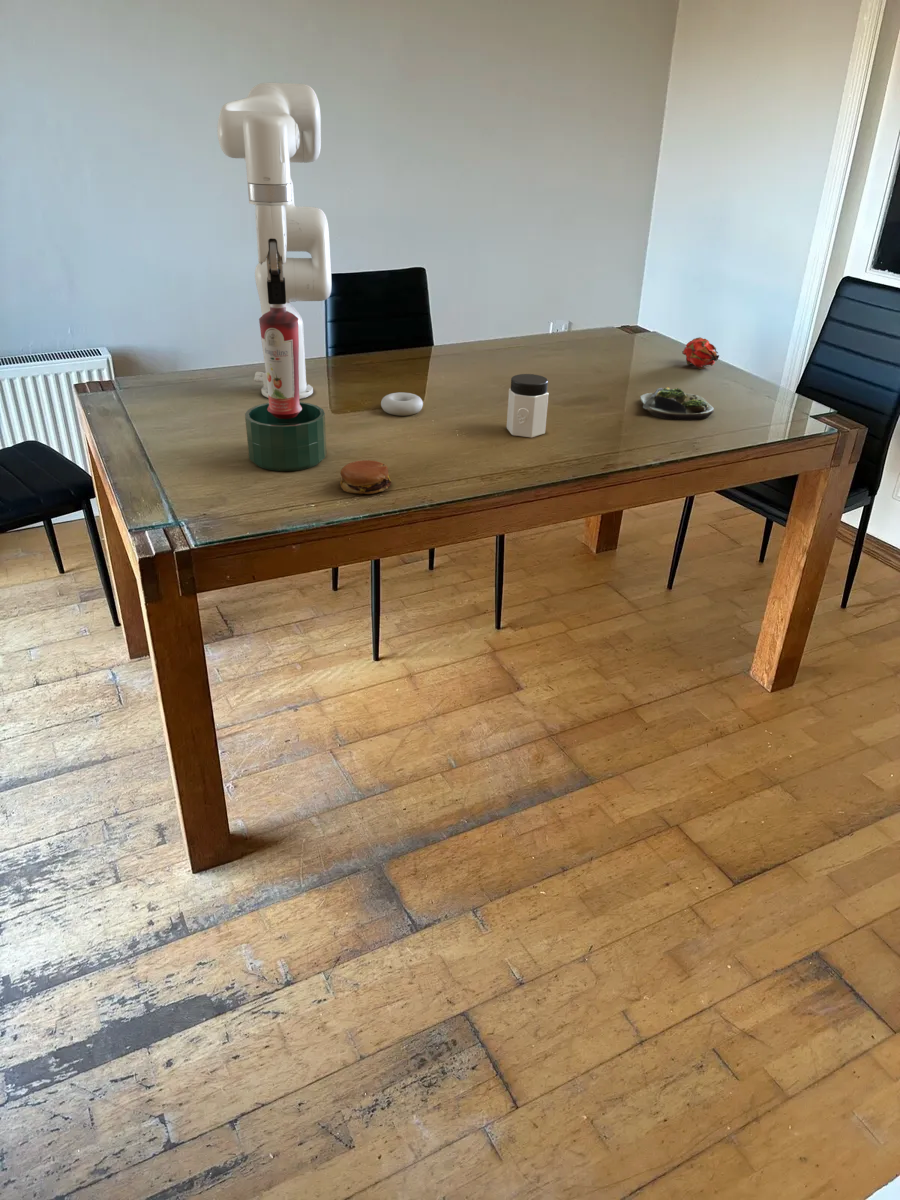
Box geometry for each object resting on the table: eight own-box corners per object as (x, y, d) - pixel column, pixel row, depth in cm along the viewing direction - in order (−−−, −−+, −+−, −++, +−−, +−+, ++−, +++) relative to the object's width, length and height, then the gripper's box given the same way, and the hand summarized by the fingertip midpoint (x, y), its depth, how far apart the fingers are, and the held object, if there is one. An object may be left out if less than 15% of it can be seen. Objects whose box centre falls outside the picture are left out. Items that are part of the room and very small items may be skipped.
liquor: (261, 419, 172) (249, 270, 158) (273, 408, 178) (263, 263, 164) (297, 422, 171) (288, 272, 157) (308, 411, 177) (300, 265, 163)
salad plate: (627, 394, 224) (630, 376, 221) (696, 395, 225) (699, 378, 222) (644, 419, 207) (647, 400, 205) (718, 421, 208) (722, 402, 206)
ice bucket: (234, 464, 175) (229, 419, 170) (274, 440, 188) (271, 397, 183) (302, 477, 171) (300, 431, 166) (339, 451, 183) (337, 407, 178)
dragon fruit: (684, 365, 256) (710, 382, 247) (670, 350, 250) (696, 367, 242) (704, 341, 253) (731, 357, 245) (690, 326, 248) (717, 342, 239)
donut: (376, 416, 204) (417, 419, 202) (375, 401, 202) (417, 404, 201) (387, 403, 213) (427, 406, 211) (386, 389, 211) (427, 392, 209)
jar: (501, 434, 195) (505, 381, 189) (510, 423, 202) (514, 371, 196) (541, 439, 193) (545, 386, 187) (548, 428, 200) (553, 376, 194)
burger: (331, 483, 168) (330, 461, 166) (373, 474, 173) (372, 452, 171) (357, 502, 162) (356, 478, 159) (399, 491, 166) (399, 468, 164)
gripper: (250, 189, 160) (258, 292, 170) (246, 199, 147) (255, 311, 156) (291, 189, 161) (297, 292, 171) (291, 200, 148) (298, 311, 157)
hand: (277, 300), depth 163 cm, fingers closed on liquor, 2 cm apart
